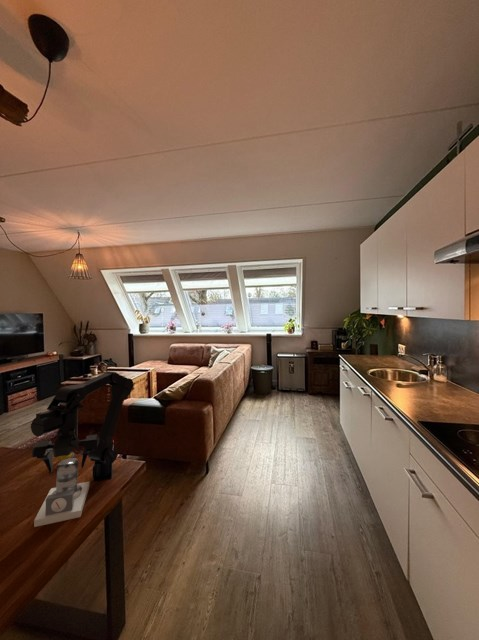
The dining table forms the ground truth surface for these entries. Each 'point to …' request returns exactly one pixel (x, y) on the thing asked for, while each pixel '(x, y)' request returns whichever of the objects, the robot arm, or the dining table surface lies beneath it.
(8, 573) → the dining table surface
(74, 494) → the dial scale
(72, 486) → the silver round piece
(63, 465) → the silver flared knob
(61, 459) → the yellow spiral cone
